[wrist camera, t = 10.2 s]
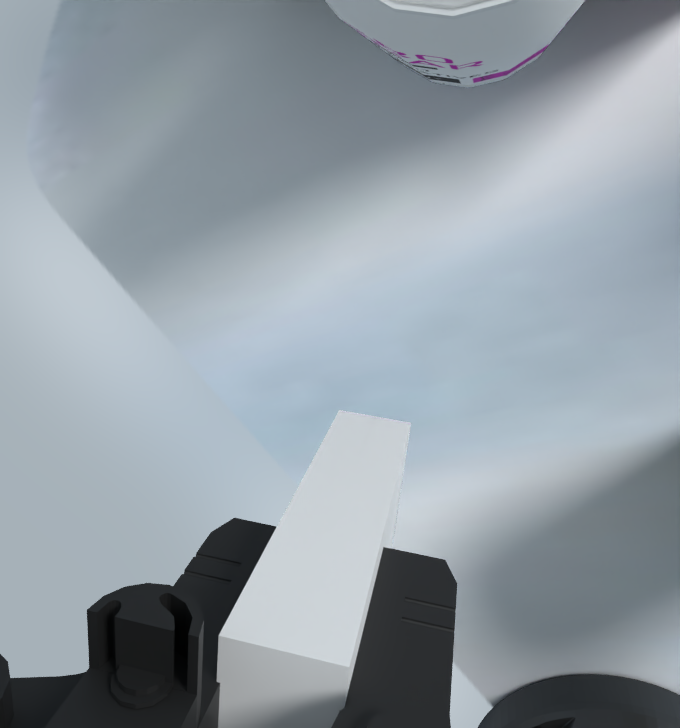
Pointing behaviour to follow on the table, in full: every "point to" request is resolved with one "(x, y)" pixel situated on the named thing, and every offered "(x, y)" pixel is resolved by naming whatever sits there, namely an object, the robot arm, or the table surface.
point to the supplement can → (459, 34)
